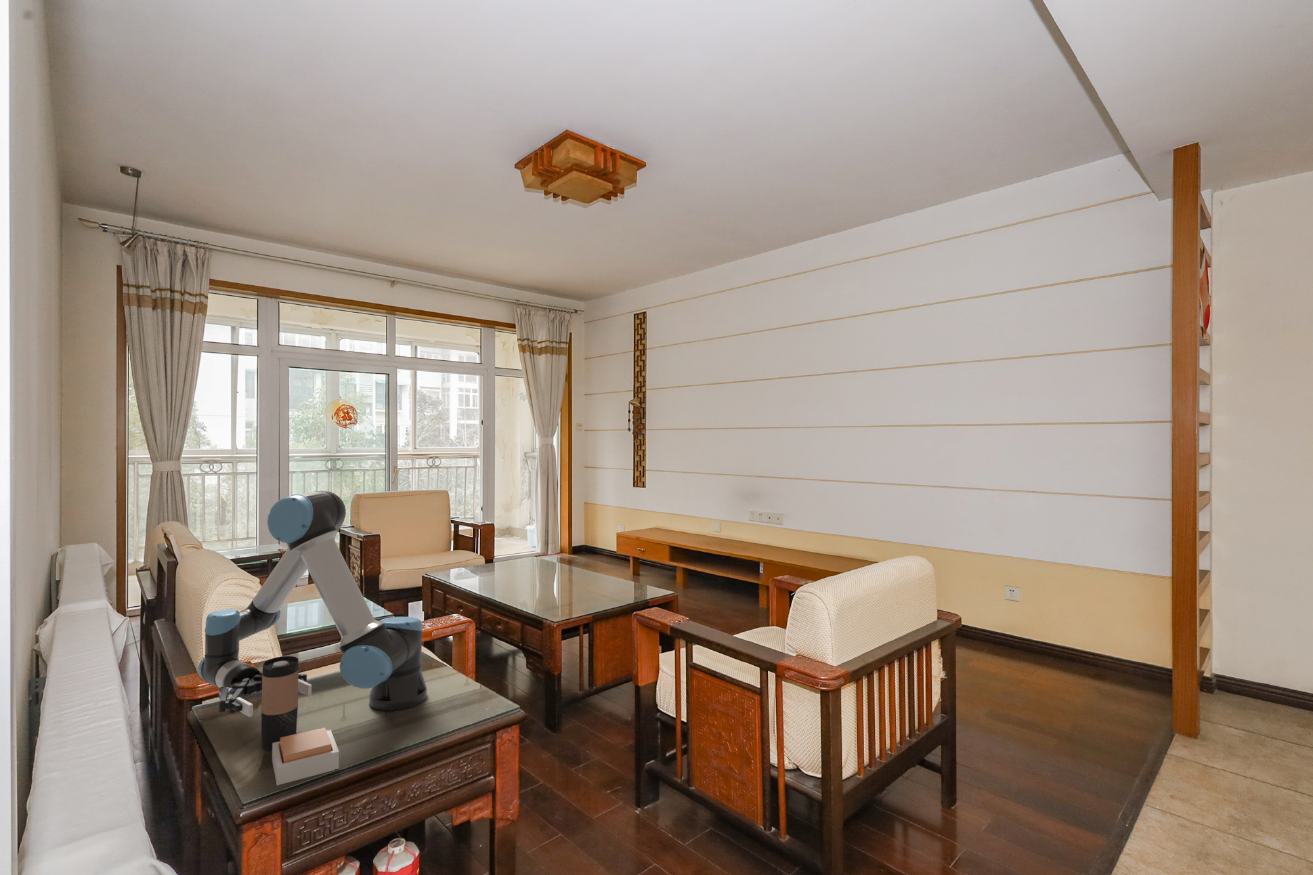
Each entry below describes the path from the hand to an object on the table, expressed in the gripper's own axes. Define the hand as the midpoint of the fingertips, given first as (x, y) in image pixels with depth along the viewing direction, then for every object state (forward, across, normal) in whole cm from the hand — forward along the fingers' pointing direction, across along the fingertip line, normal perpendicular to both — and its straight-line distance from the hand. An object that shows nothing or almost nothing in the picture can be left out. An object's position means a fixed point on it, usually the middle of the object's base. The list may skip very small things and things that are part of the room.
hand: (281, 700), depth 150 cm
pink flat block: (+13, +1, -8) cm, 16 cm away
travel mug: (-1, 0, -11) cm, 11 cm away
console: (+13, +1, -11) cm, 17 cm away
